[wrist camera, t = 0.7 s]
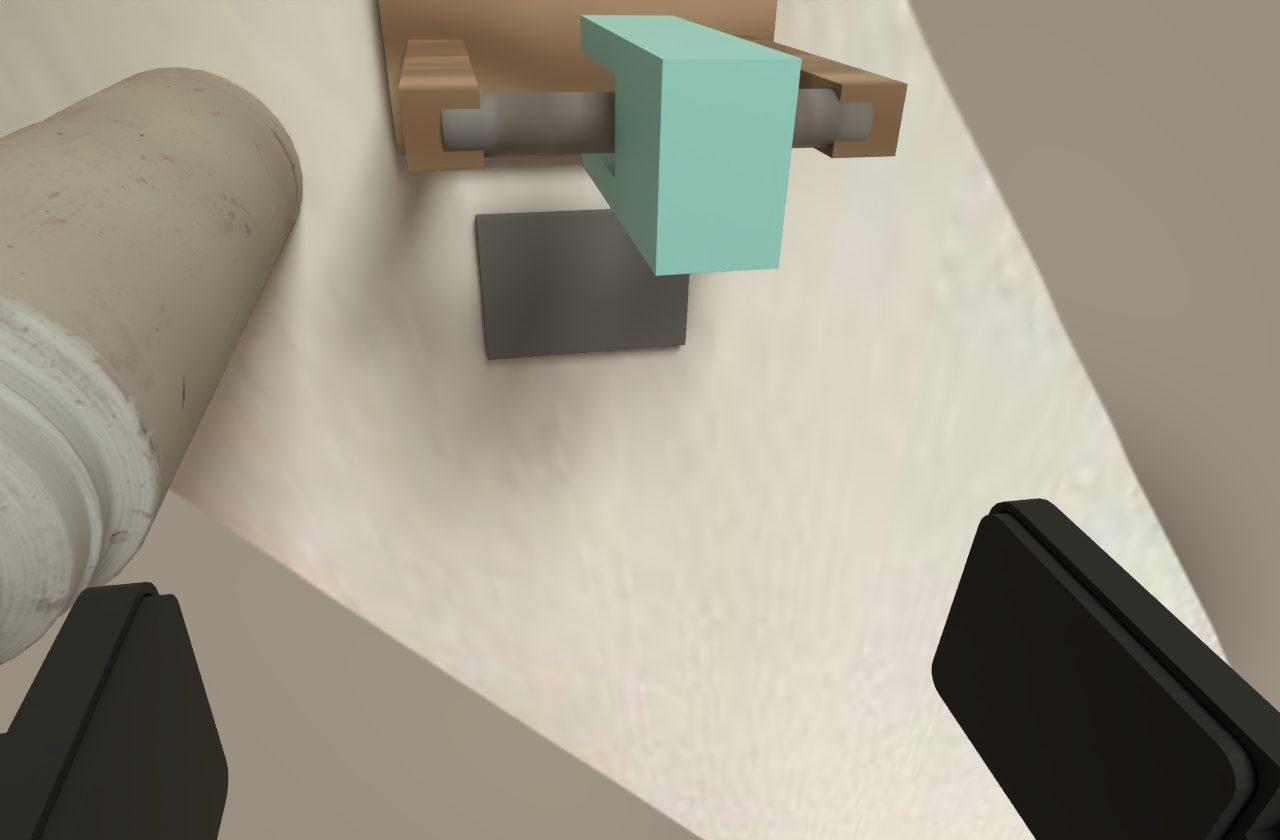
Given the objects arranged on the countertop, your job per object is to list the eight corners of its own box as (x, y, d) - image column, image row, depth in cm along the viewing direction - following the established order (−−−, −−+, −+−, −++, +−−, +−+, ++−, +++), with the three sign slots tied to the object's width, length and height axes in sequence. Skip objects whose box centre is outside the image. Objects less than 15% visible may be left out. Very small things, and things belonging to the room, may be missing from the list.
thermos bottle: (313, 265, 36) (102, 865, 13) (113, 263, 35) (-555, 957, 11) (291, 73, 33) (-69, 435, 9) (64, 59, 31) (-1127, 469, 7)
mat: (475, 214, 37) (476, 218, 36) (689, 205, 39) (692, 209, 38) (487, 354, 40) (487, 359, 40) (682, 339, 42) (685, 344, 42)
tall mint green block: (579, 15, 26) (662, 59, 17) (672, 15, 26) (801, 58, 17) (582, 164, 28) (656, 275, 19) (667, 162, 28) (778, 268, 19)
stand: (374, -41, 31) (338, -24, 19) (770, -34, 34) (962, -15, 22) (398, 147, 35) (381, 266, 22) (754, 139, 38) (912, 238, 26)
